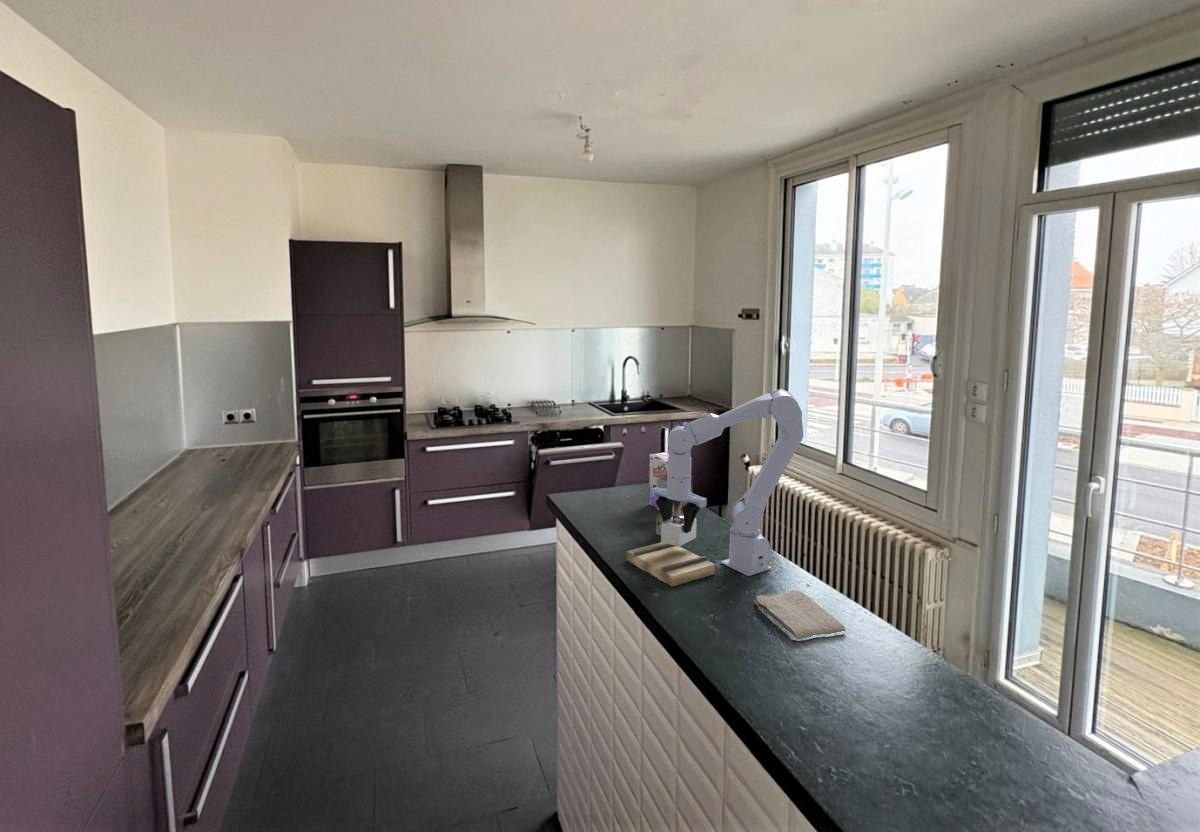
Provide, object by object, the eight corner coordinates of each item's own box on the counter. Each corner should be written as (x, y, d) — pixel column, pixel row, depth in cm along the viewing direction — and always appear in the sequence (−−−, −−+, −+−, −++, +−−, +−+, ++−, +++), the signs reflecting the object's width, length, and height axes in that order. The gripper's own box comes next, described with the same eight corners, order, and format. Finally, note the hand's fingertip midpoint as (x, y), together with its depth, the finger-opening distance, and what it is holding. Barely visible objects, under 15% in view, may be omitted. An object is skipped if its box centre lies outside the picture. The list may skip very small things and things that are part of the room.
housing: (679, 546, 167) (679, 523, 166) (661, 541, 170) (661, 518, 169) (696, 537, 173) (696, 514, 172) (678, 532, 176) (678, 510, 175)
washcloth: (797, 598, 153) (798, 585, 153) (848, 637, 136) (849, 623, 136) (749, 605, 150) (750, 592, 149) (795, 646, 133) (796, 631, 132)
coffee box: (675, 539, 187) (677, 482, 183) (655, 534, 190) (656, 478, 187) (692, 530, 194) (694, 474, 191) (672, 525, 198) (674, 471, 194)
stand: (714, 574, 165) (715, 561, 164) (672, 586, 158) (672, 573, 157) (667, 549, 180) (667, 537, 179) (626, 560, 173) (626, 547, 172)
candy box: (647, 504, 216) (648, 453, 213) (663, 502, 219) (664, 451, 216) (672, 518, 204) (673, 464, 201) (688, 515, 207) (690, 461, 204)
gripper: (713, 477, 167) (711, 531, 169) (663, 467, 175) (661, 518, 178) (698, 484, 161) (696, 539, 164) (647, 473, 170) (646, 525, 173)
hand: (677, 529), depth 170 cm, fingers closed on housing, 5 cm apart
